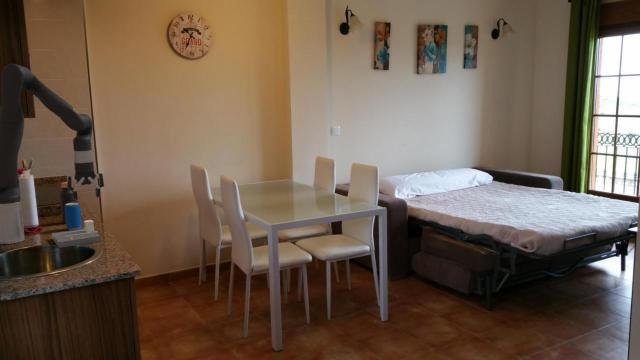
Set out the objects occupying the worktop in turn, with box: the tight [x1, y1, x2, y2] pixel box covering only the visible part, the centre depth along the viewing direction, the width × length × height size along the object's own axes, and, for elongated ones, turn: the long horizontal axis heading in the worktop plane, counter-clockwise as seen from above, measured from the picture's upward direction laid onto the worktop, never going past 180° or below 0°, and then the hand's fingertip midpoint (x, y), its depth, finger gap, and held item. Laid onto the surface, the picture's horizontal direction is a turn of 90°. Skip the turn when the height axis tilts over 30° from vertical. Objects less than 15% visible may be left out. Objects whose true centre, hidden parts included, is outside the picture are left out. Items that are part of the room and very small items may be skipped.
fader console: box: [51, 228, 101, 249], centre depth 224 cm, size 16×18×3 cm
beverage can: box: [65, 202, 82, 231], centre depth 244 cm, size 6×6×12 cm
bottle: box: [59, 181, 77, 225], centre depth 257 cm, size 7×7×20 cm
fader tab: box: [83, 219, 95, 233], centre depth 226 cm, size 3×4×5 cm
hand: (87, 198), depth 224 cm, fingers open, 8 cm apart
